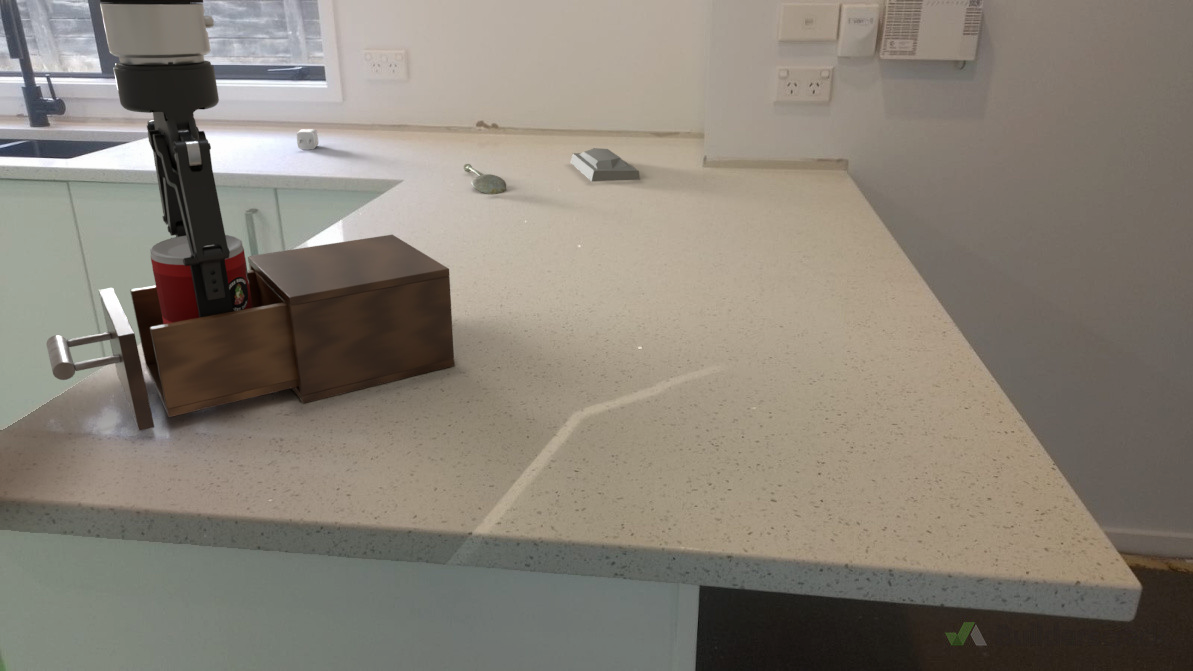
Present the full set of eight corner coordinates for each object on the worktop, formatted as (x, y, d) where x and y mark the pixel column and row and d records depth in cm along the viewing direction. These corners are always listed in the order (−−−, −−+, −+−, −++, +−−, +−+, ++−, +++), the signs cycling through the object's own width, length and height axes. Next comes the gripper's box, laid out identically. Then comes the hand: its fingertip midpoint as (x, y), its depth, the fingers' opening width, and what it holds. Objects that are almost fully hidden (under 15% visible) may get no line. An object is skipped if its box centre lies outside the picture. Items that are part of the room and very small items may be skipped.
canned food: (219, 379, 75) (199, 261, 71) (151, 365, 78) (127, 251, 74) (277, 347, 82) (261, 238, 78) (212, 335, 84) (194, 229, 80)
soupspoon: (476, 198, 158) (509, 197, 160) (476, 181, 157) (510, 180, 159) (452, 171, 177) (483, 171, 179) (452, 155, 175) (483, 155, 178)
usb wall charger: (318, 145, 203) (316, 129, 201) (313, 151, 197) (311, 133, 195) (301, 145, 202) (299, 129, 201) (295, 151, 196) (293, 133, 195)
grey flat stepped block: (591, 181, 171) (591, 164, 169) (570, 162, 189) (570, 146, 187) (639, 179, 173) (640, 162, 172) (614, 161, 191) (614, 145, 190)
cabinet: (303, 403, 79) (289, 297, 75) (261, 351, 90) (247, 256, 86) (454, 366, 87) (449, 268, 83) (399, 322, 98) (392, 234, 94)
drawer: (71, 447, 69) (46, 349, 66) (57, 387, 79) (35, 299, 76) (309, 390, 79) (298, 303, 76) (270, 343, 89) (258, 264, 86)
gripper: (242, 67, 64) (281, 343, 72) (187, 49, 79) (224, 277, 88) (131, 71, 60) (187, 363, 68) (96, 52, 75) (145, 290, 84)
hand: (208, 314), depth 78 cm, fingers closed on canned food, 8 cm apart
